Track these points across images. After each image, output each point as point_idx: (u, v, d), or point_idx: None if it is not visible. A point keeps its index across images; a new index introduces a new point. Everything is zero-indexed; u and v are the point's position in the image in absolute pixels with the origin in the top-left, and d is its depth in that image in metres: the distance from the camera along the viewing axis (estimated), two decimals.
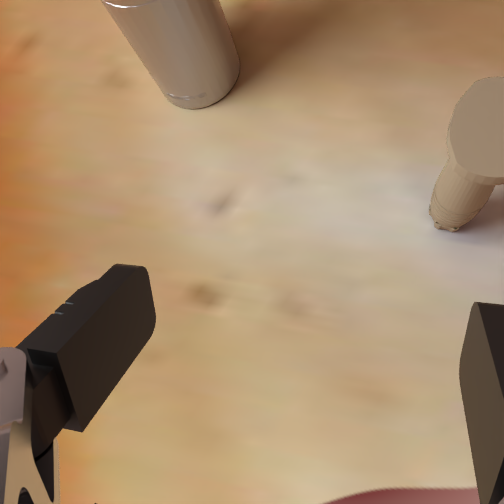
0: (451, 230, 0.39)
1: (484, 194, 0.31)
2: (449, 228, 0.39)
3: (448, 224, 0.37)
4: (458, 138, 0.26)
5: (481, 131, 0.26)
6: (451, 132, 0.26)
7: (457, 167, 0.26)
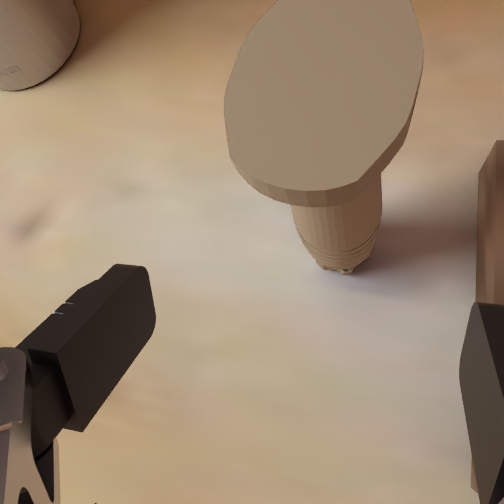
0: (342, 273, 0.24)
1: (353, 221, 0.17)
2: (338, 270, 0.24)
3: (328, 265, 0.23)
4: (240, 105, 0.12)
5: (287, 90, 0.12)
6: (229, 92, 0.12)
7: (236, 167, 0.12)
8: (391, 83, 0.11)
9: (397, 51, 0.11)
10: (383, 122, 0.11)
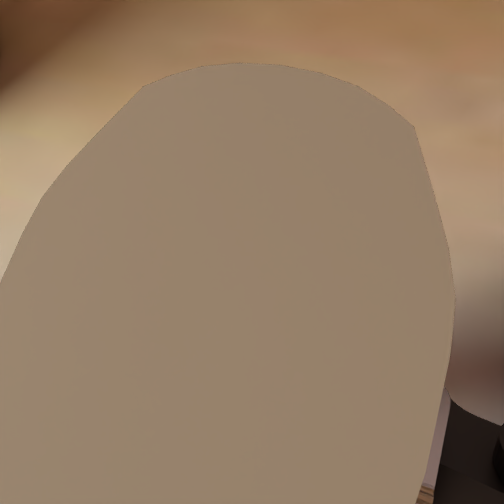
0: None
1: None
2: None
3: None
4: (1, 387, 0.05)
5: (110, 359, 0.05)
6: None
7: None
8: (366, 385, 0.04)
9: (384, 283, 0.04)
10: None
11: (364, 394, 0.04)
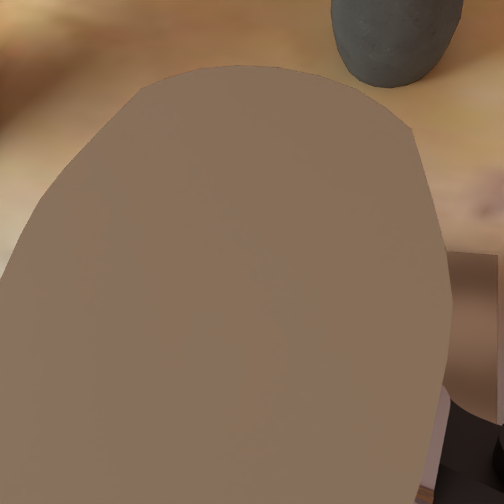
0: None
1: None
2: None
3: None
4: None
5: (108, 361, 0.05)
6: None
7: None
8: (363, 390, 0.04)
9: (381, 287, 0.04)
10: None
11: (361, 398, 0.04)
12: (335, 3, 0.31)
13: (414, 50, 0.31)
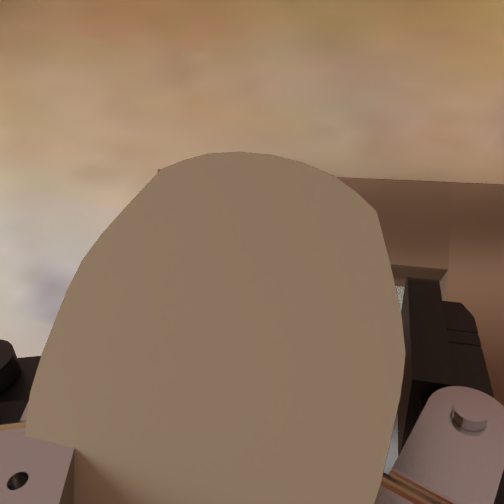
0: None
1: None
2: None
3: None
4: (55, 417, 0.06)
5: (140, 396, 0.06)
6: (40, 384, 0.06)
7: None
8: (338, 419, 0.05)
9: (351, 339, 0.06)
10: None
11: (335, 426, 0.05)
12: None
13: None
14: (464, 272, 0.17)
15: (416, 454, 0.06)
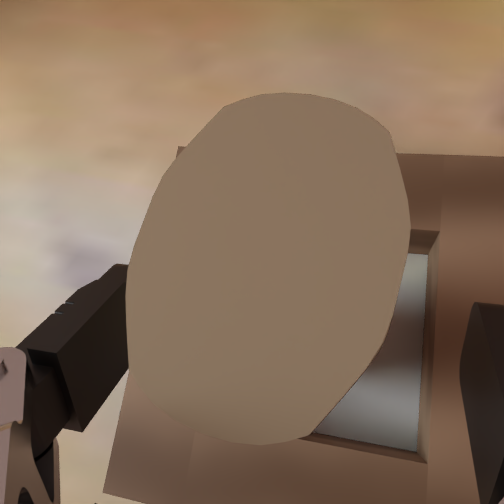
0: None
1: None
2: None
3: None
4: (148, 285, 0.08)
5: (215, 267, 0.08)
6: (134, 263, 0.09)
7: (143, 376, 0.08)
8: (362, 273, 0.08)
9: (372, 219, 0.08)
10: (350, 336, 0.07)
11: (361, 277, 0.08)
12: None
13: None
14: (454, 233, 0.19)
15: None
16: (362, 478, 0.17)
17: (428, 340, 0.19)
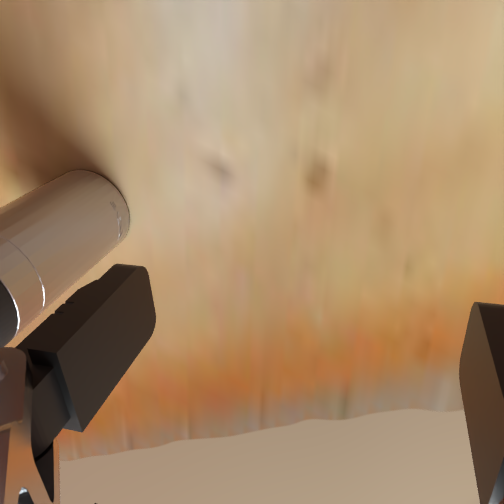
0: None
1: None
2: None
3: None
4: None
5: None
6: None
7: None
8: None
9: None
10: None
11: None
12: None
13: None
14: None
15: None
16: None
17: None
